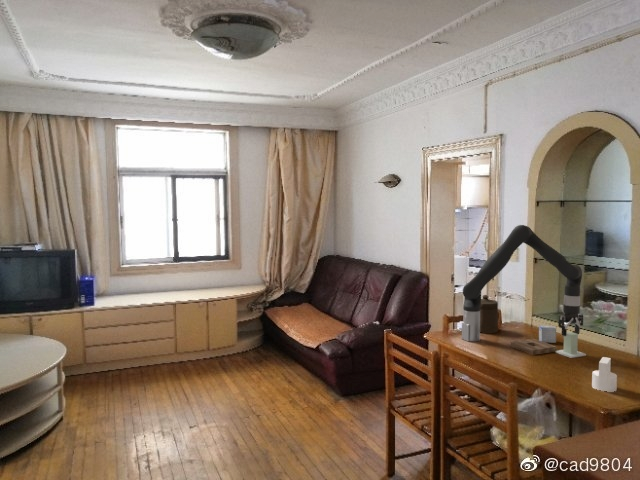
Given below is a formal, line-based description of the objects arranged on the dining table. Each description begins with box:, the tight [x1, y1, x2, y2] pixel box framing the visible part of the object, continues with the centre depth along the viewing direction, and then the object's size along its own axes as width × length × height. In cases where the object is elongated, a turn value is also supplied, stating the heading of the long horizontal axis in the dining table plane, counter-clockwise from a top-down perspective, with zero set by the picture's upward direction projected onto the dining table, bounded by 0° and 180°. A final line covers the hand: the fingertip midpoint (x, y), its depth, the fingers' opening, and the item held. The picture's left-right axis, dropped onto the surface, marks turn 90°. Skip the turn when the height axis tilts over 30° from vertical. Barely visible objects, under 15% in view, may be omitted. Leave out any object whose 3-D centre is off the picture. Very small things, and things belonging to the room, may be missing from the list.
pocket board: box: [509, 338, 558, 356], centre depth 257 cm, size 16×16×2 cm
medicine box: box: [538, 325, 557, 344], centre depth 269 cm, size 8×4×9 cm, turn 84°
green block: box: [562, 331, 579, 354], centre depth 247 cm, size 4×4×10 cm
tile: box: [554, 349, 587, 359], centre depth 247 cm, size 10×10×1 cm
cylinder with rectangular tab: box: [591, 356, 618, 393], centre depth 202 cm, size 9×9×12 cm
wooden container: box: [480, 294, 499, 334], centre depth 294 cm, size 15×15×22 cm
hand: (570, 334), depth 246 cm, fingers open, 8 cm apart
